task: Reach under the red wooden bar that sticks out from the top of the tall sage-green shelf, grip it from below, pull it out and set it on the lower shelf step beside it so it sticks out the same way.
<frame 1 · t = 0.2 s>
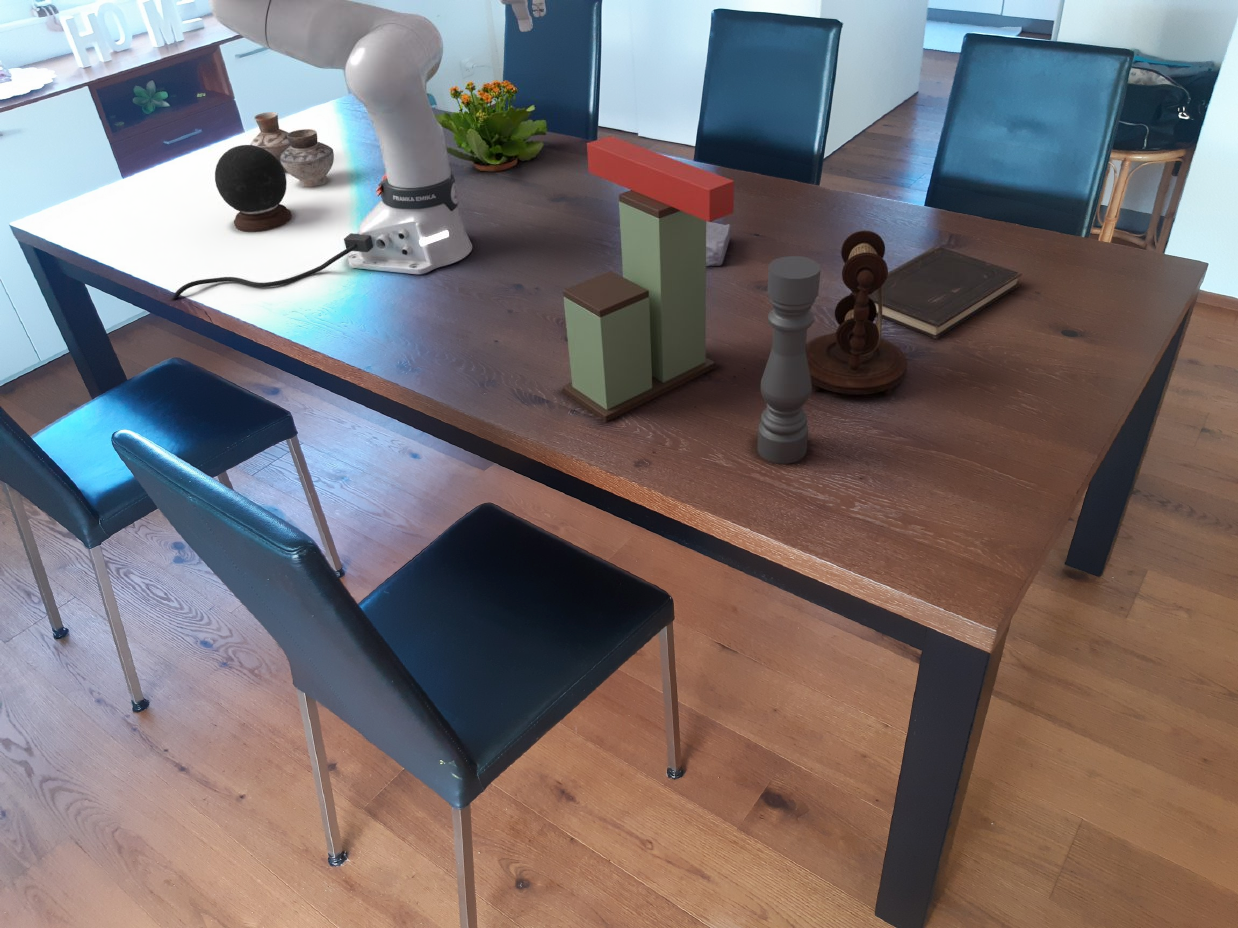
hand: (533, 23, 142), 39 cm above the table, tool pointing down, fingers open, 8 cm apart
red bar: (657, 191, 117), point 26 cm above the table, touching step shelf
potted flower: (493, 166, 204), on the table
candle holder: (781, 450, 116), on the table
step shelf: (639, 380, 130), on the table
stone block: (699, 253, 163), on the table
black ball on stand: (263, 221, 185), on the table
scroll: (850, 375, 129), on the table
hardcover book: (933, 296, 146), on the table
pottery: (297, 177, 205), on the table
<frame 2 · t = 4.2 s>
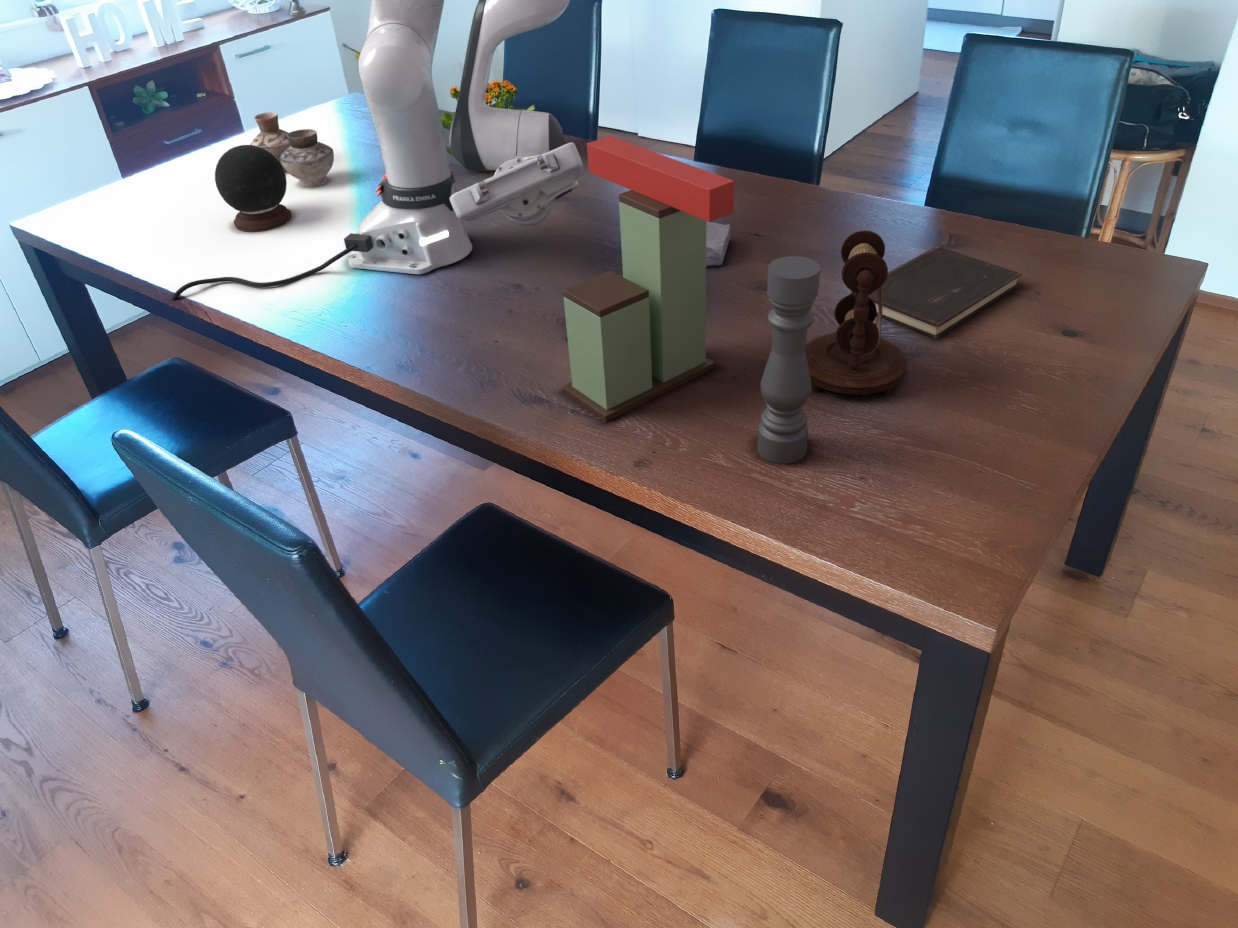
hand: (511, 174, 128), 25 cm above the table, tool pointing upward, fingers open, 8 cm apart
nothing on the table moved.
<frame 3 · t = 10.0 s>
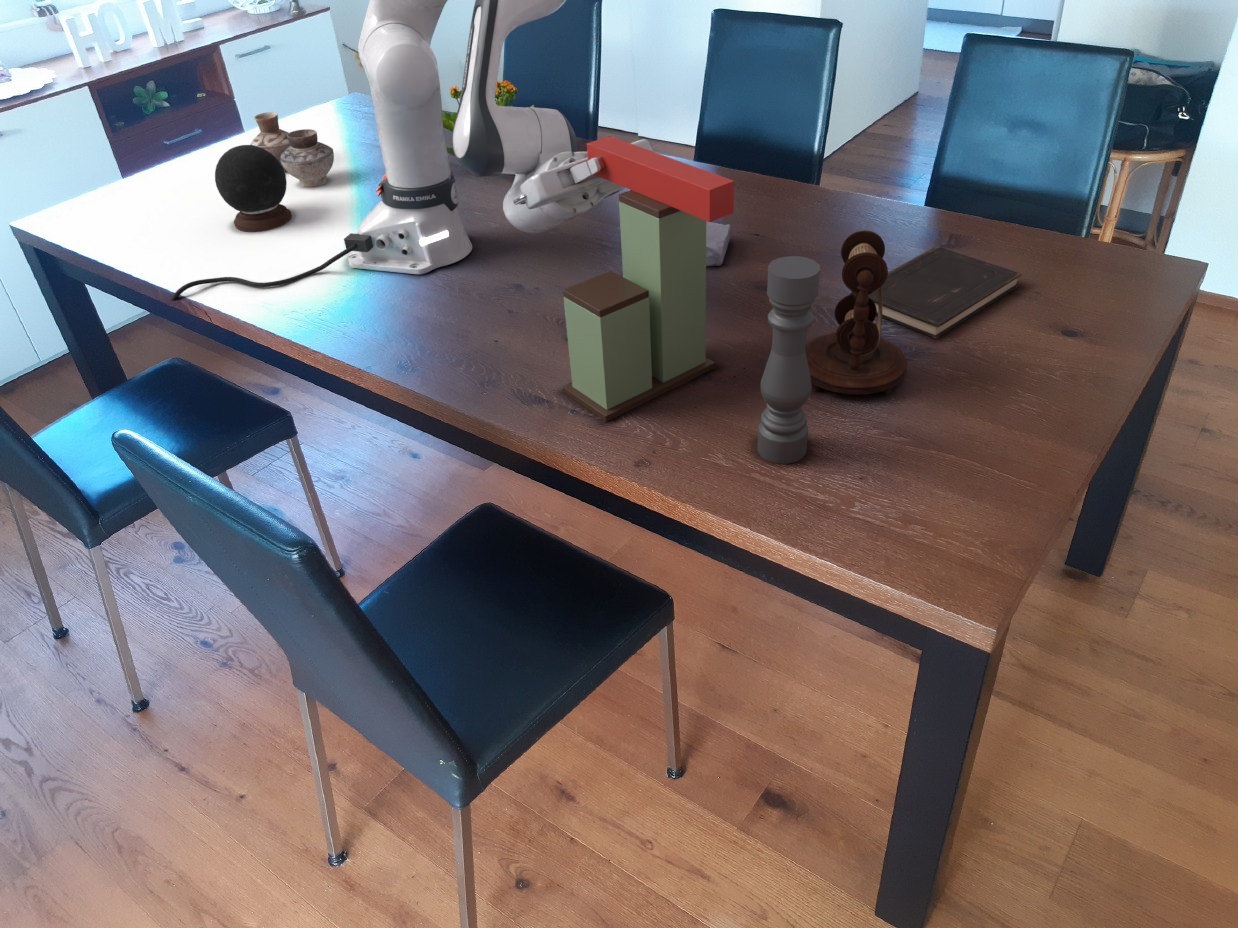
hand: (616, 157, 121), 28 cm above the table, tool pointing upward, fingers closed on red bar, 4 cm apart
red bar: (657, 191, 117), point 26 cm above the table, touching gripper, step shelf
everything else where it was.
when the fingers open (18 cm above the table, at t = 22.3 s): red bar stays where it is, resting on step shelf.
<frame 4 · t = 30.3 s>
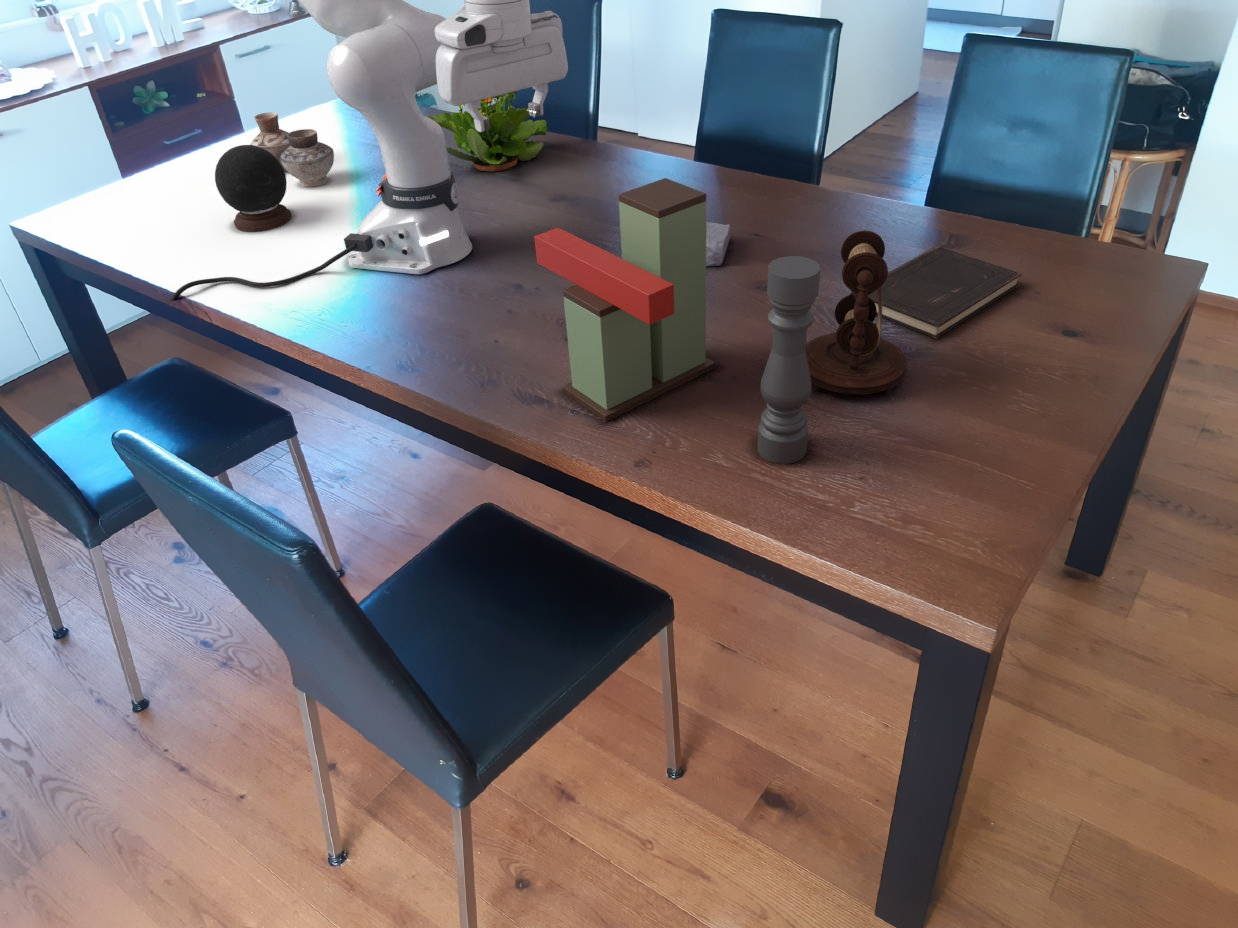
hand: (510, 123, 134), 29 cm above the table, tool pointing down, fingers open, 8 cm apart
red bar: (601, 287, 119), point 16 cm above the table, touching step shelf
everything else where it was.
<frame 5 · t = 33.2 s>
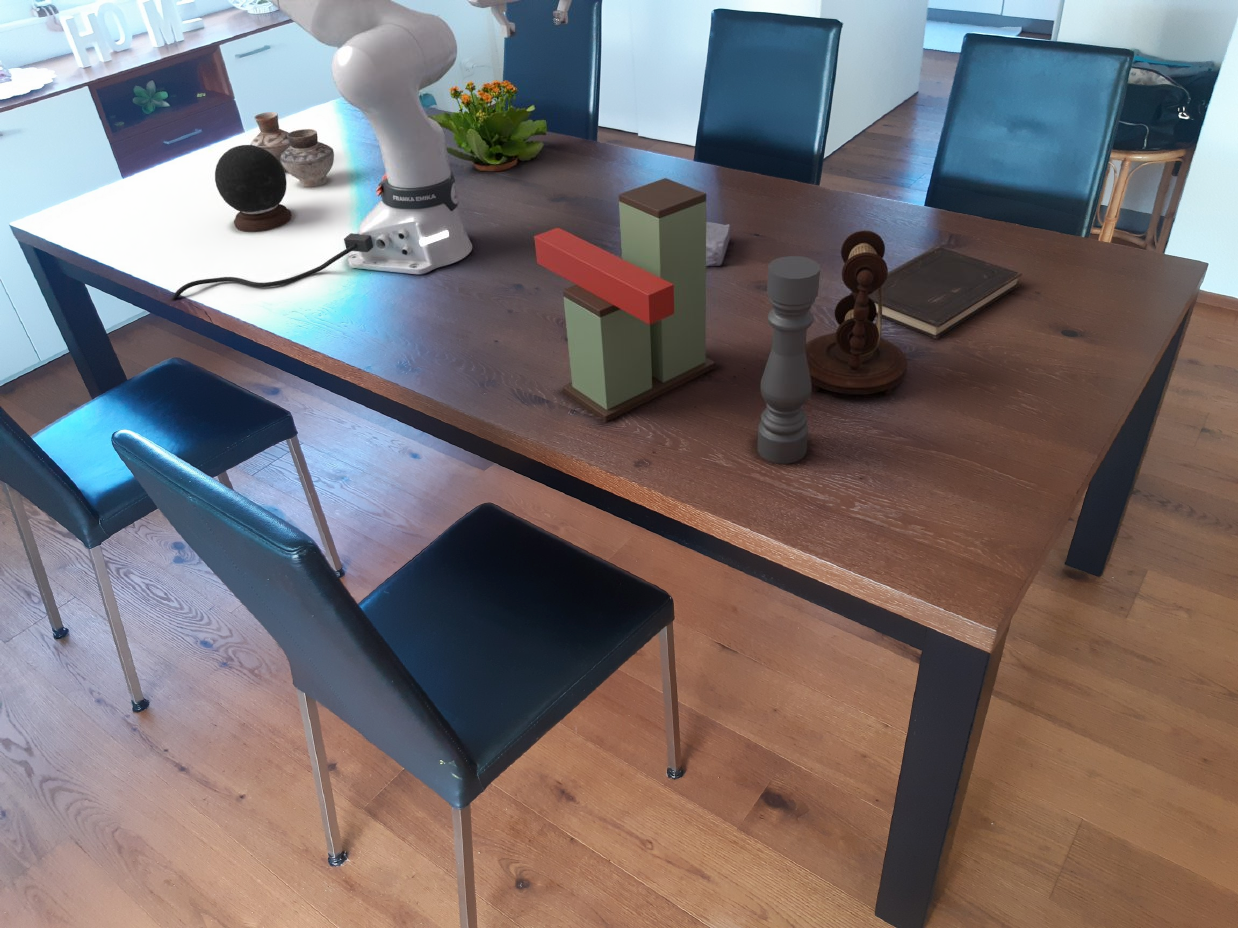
hand: (535, 30, 135), 39 cm above the table, tool pointing down, fingers open, 8 cm apart
nothing on the table moved.
at the end: red bar 0.2 cm from the target spot on the step shelf, point 16.0 cm above the step shelf's base; red bar tilted 0°; the gripper is holding nothing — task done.
